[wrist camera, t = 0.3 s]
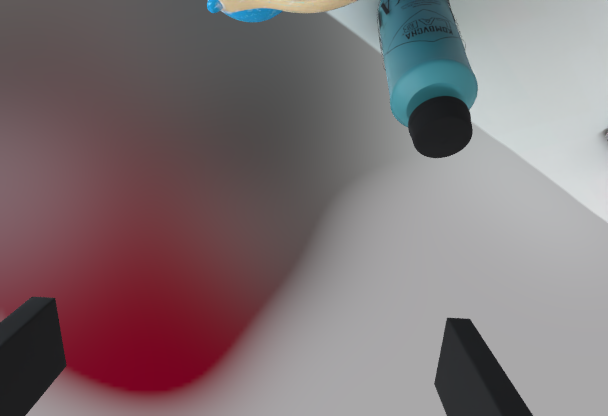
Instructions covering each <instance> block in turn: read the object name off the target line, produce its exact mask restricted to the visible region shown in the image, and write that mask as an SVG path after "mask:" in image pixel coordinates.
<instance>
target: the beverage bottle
mask: <svg viewBox="0 0 608 416" xmlns="http://www.w3.org/2000/svg"><path fill="white" fill-rule="evenodd" d="M380 1H381V2H379V3H380V5H378V6H379V8H378V9H379V10H378V9H377V10H378V12H377V13H378V19H379V26H380V30H379V29H378V32H379V31H380V32H379V33H380V35H381V38H380V37H379V40H380V41H381V42H382V45H381V44H380V47H381V46H382V50H383V54H382V53H381V54H382V55H383V56H384V63H385V68H386V74H387V80H388V86H389V93H390V105H391V110H392V113H393V115H394V117H395V118H396V119H397V120H398V121H399V122H400V123H401V124H403V125H404V126H406V127H408V128H409V133H410V136H411V137H412V140H413V144H414V146H415V148H416V149H417V151H418V152H420V153H421V154H422V155H424V156H427V157H431V158H442V157H447V156H451V155H453V154H455V153H457V152H459V151H460V150H462V149H463V148H464V147H465V146H466V145H467V144H468V143H469V141H470V139H471V137H472V124H471V116H470V112H469V110H470V108H471V107H472V105H473V103H474V101H475V99H476V97H477V91H478V85H477V80H476V77H475V75H474V73H473V71H472V69H471V67H470V64H469V61H468V58H467V56H466V53H465V49H464V46H463V43H462V40H461V37H460V35H459V34H461V33H460V31H459V30H458V28H457V27H456V24H455V19H456V18H455V19H454V16H453V14H452V11H451V8H449V6H450V3H449V0H380ZM448 4H449V5H448ZM450 7H451V6H450ZM378 19H377V23H378ZM456 23H457V22H456ZM457 25H458V23H457ZM459 29H460V28H459ZM458 31H459V32H458ZM465 45H466V44H465ZM465 47H466V46H465ZM382 50H381V52H382Z"/></svg>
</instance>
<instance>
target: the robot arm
mask: <svg viewBox="0 0 608 416" xmlns="http://www.w3.org/2000/svg"><path fill="white" fill-rule="evenodd" d="M65 367H66V360H65V355H64V349H63V342H62V337H61V331H60V325H59V319H58V313H57V307H56V301H55V298H45V297H31V298H30V299H29V300H27V301H26V302H25V303H24V304H23V305H21V306H20V307H19V308H18V309H16V310H15V311H14V312H13V313H11V314H10V315H9V316H8V317H7V318H5V319H4V320H3V321H2V322H0V416H25V415H26V414H27V413H28V412H29V411H30V409H31V408H32V407H33V406H34V404H35V403H36V402H37V401H38V400H39V398H40V397H41V396H42V395H43V394H44V392H45V391H46V390H47V389H48V387H49V386H50V385H51V384H52V382H53V381H54V380H55V379H56V378H57V377H58V375H59V374H60V373H61V372H62V371H63V369H64V368H65ZM434 384H435V387H436V389H437V392H438V394H439V397H440V399H441V402H442V404H443V407H444V409H445V412H446V414H447V416H533V415H532V413H531V412H530V410H529V409H528V407H527V406H526V404H525V403H524V401H523V400H522V398H521V397H520V395H519V394H518V392H517V391H516V389H515V387H514V386H513V384H512V383H511V381H510V380H509V378H508V377H507V375H506V374H505V372H504V371H503V369H502V367H501V366H500V365H499V363H498V362H497V360H496V358H495V357H494V355H493V354H492V352H491V351H490V349H489V348H488V346H487V345H486V343H485V342H484V340H483V339H482V337H481V335H480V334H479V332H478V331H477V329H476V328H475V326H474V325H473V323H472V322H471V320H470V319H460V318H447V321H446V326H445V332H444V337H443V342H442V347H441V353H440V358H439V362H438V368H437V373H436V378H435V383H434Z"/></svg>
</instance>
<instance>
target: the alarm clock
mask: <svg viewBox="0 0 608 416" xmlns="http://www.w3.org/2000/svg"><path fill="white" fill-rule="evenodd" d="M356 1H358V0H208V3H207V8H208V10H209V11H210V12H211V13H216V12H218V11H222V12H223V13H225V14H226V15H228V16H230V17H232V18H234V19H237V20H240V21H245V22H261V21H265V20H268V19H271V18H273V17H274V16H276V15H278V14H279V13H281V12H282V11H288V12H294V13H318V12H325V11H329V10H334V9H337V8H340V7H344V6H346V5H349V4H351V3H354V2H356Z"/></svg>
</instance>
